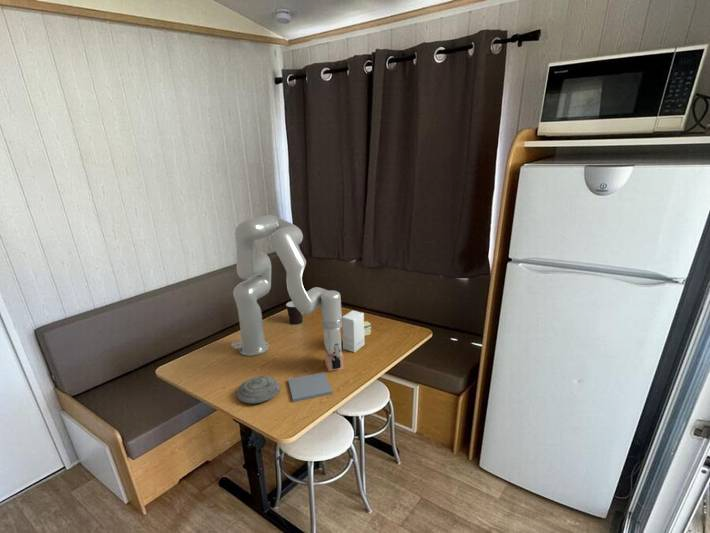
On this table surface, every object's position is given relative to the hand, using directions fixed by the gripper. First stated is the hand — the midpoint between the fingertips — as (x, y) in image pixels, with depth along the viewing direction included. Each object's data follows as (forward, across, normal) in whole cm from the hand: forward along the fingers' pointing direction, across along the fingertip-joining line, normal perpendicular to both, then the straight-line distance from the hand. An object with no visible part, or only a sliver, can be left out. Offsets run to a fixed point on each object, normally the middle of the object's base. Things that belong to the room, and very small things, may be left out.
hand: (334, 363), depth 149 cm
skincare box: (+1, -12, +12) cm, 17 cm away
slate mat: (+1, +11, -12) cm, 16 cm away
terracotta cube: (+1, 0, 0) cm, 1 cm away
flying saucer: (+2, +8, -30) cm, 31 cm away
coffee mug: (+1, -49, -7) cm, 50 cm away
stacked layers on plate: (+2, -23, +19) cm, 30 cm away
